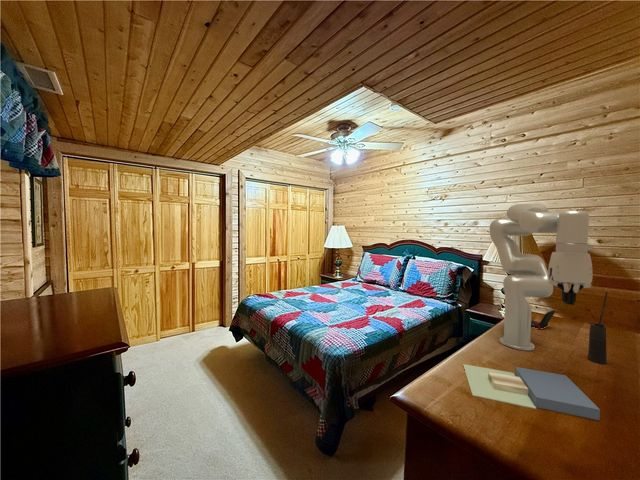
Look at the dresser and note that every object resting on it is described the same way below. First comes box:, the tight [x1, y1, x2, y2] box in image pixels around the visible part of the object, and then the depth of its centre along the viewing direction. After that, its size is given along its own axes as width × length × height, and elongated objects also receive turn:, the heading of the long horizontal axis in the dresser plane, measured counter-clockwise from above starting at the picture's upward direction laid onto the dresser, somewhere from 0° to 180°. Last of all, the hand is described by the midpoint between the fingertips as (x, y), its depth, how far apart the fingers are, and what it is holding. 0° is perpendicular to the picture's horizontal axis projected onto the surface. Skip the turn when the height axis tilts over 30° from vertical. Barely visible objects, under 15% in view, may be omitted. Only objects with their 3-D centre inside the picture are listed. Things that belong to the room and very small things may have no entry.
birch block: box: [488, 372, 529, 395], centre depth 85 cm, size 7×9×2 cm
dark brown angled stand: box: [531, 309, 556, 330], centre depth 140 cm, size 9×12×10 cm
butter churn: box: [587, 291, 608, 365], centre depth 104 cm, size 9×10×28 cm
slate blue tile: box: [514, 366, 601, 421], centre depth 81 cm, size 18×14×3 cm
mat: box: [462, 363, 537, 410], centre depth 87 cm, size 20×16×1 cm
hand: (568, 303), depth 87 cm, fingers closed
